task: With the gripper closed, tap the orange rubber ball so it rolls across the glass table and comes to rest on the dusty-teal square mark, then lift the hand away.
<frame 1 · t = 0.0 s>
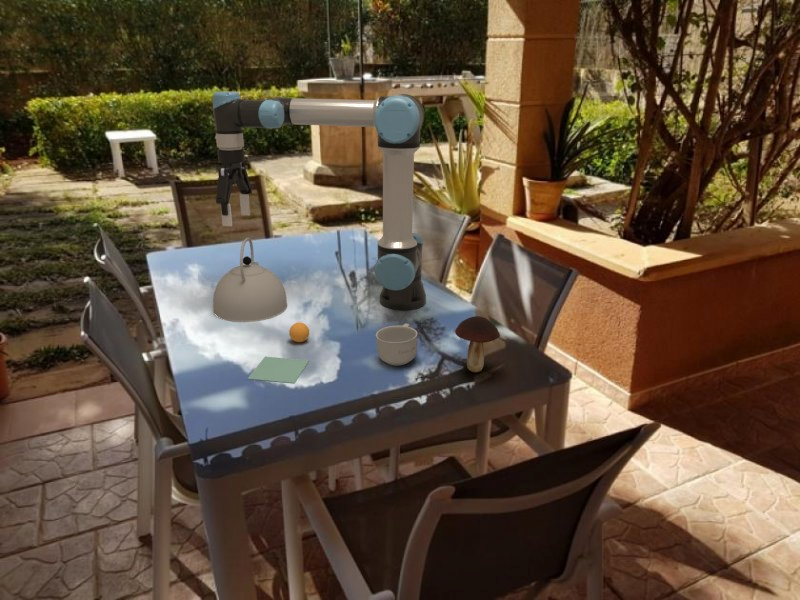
hand: (236, 220, 178), 28 cm above the table, tool pointing down, fingers open, 13 cm apart
teacup: (399, 358, 157), on the table
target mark: (279, 369, 150), on the table
ball: (299, 332, 164), on the table
kettle: (251, 307, 189), on the table
decorative mushroom: (474, 372, 151), on the table
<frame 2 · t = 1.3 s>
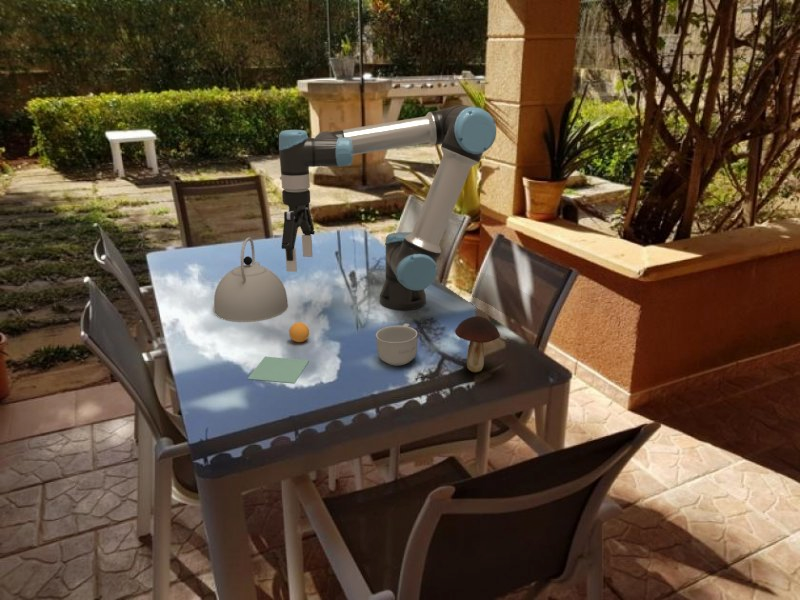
hand: (300, 263, 169), 19 cm above the table, tool pointing down, fingers open, 13 cm apart
nothing on the table moved.
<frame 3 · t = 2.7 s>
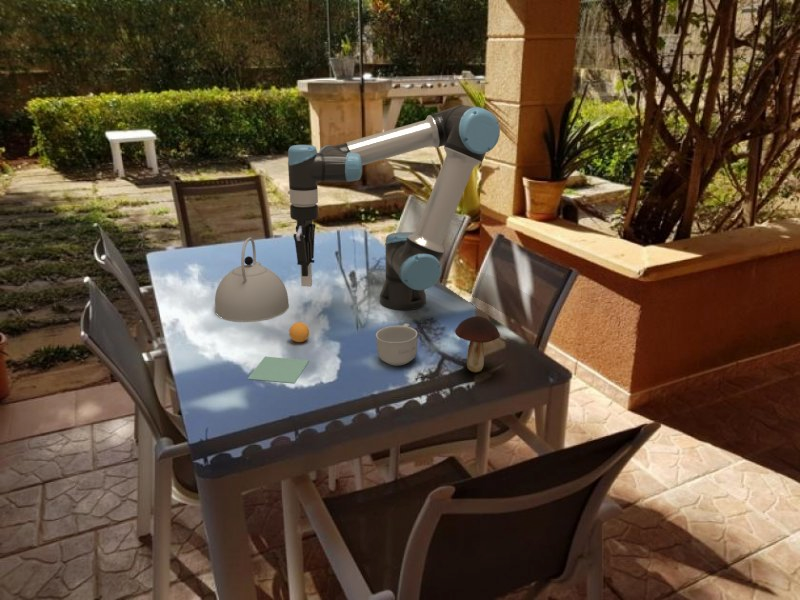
hand: (306, 285, 169), 13 cm above the table, tool pointing down, fingers closed
nothing on the table moved.
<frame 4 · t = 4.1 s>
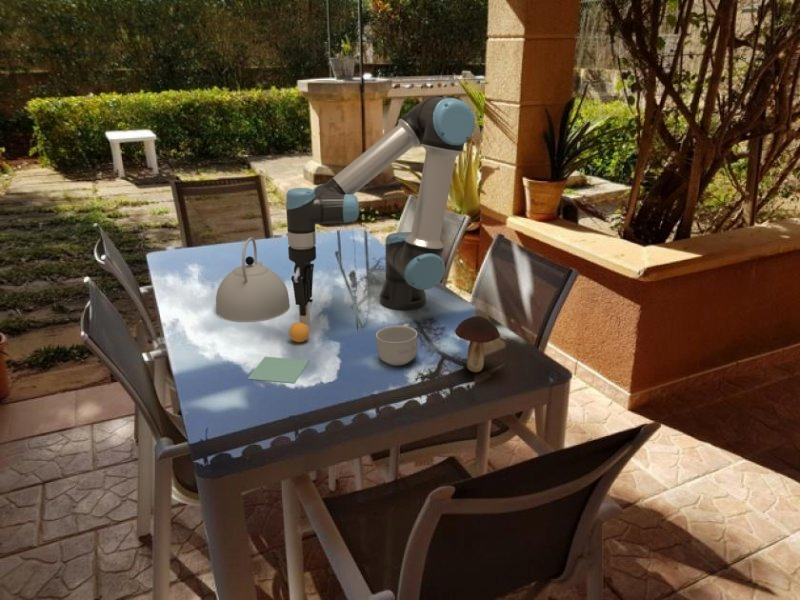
hand: (304, 324, 171), 2 cm above the table, tool pointing down, fingers closed
nothing on the table moved.
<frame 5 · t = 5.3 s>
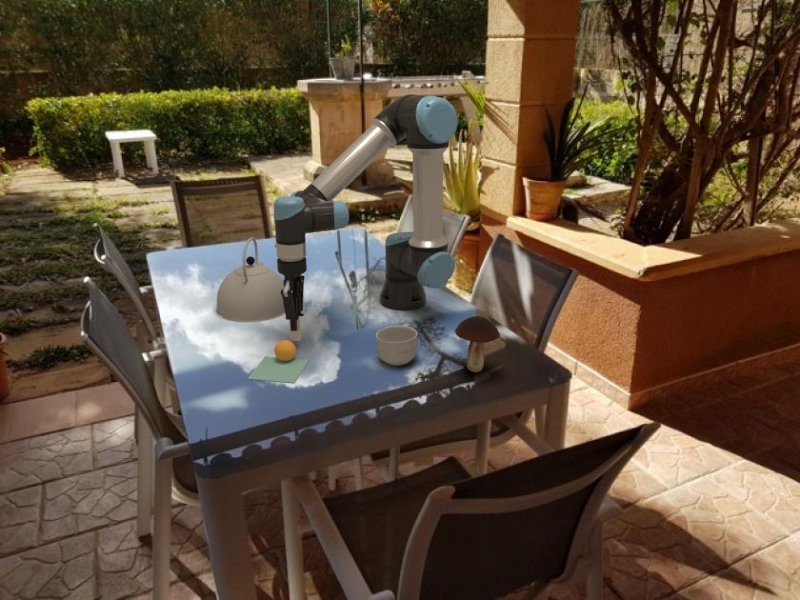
hand: (296, 339, 162), 2 cm above the table, tool pointing down, fingers closed
ball: (285, 350, 154), on the table
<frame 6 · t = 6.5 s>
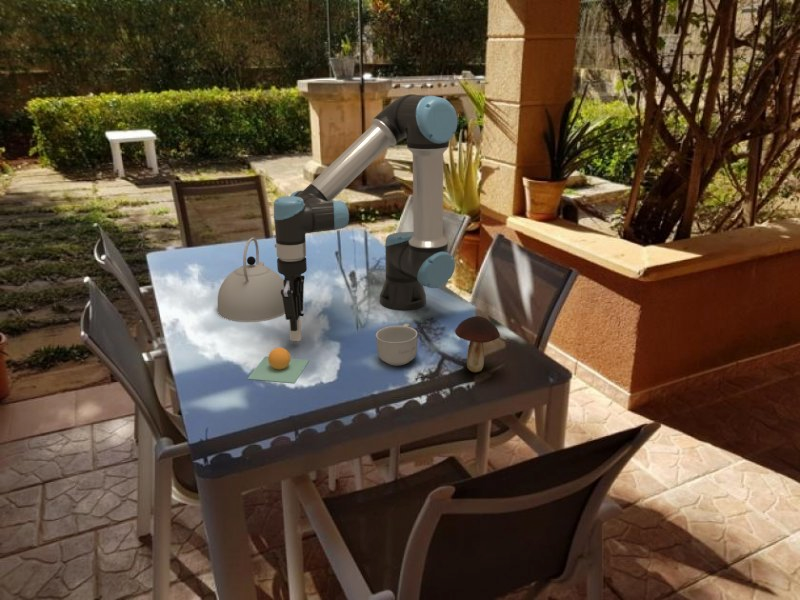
hand: (296, 339, 162), 2 cm above the table, tool pointing down, fingers closed
ball: (279, 358, 150), on the table
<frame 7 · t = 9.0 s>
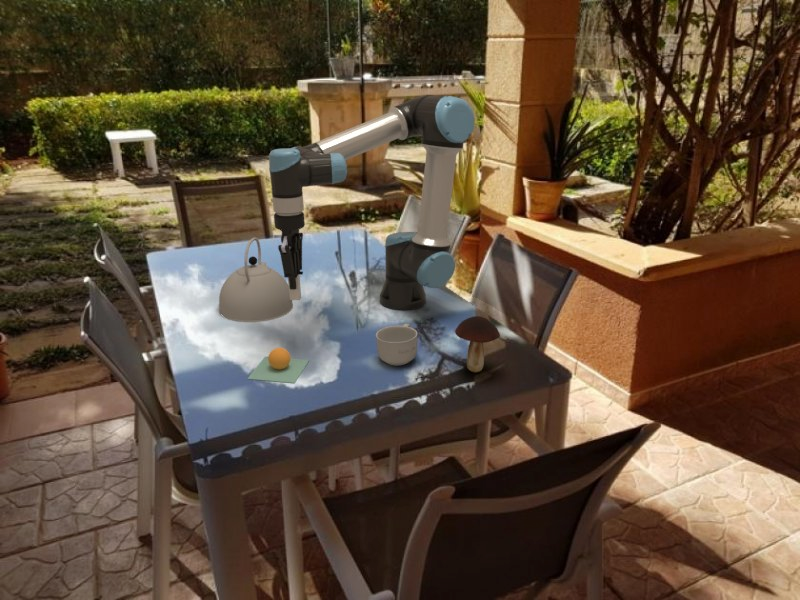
hand: (295, 298, 158), 14 cm above the table, tool pointing down, fingers closed
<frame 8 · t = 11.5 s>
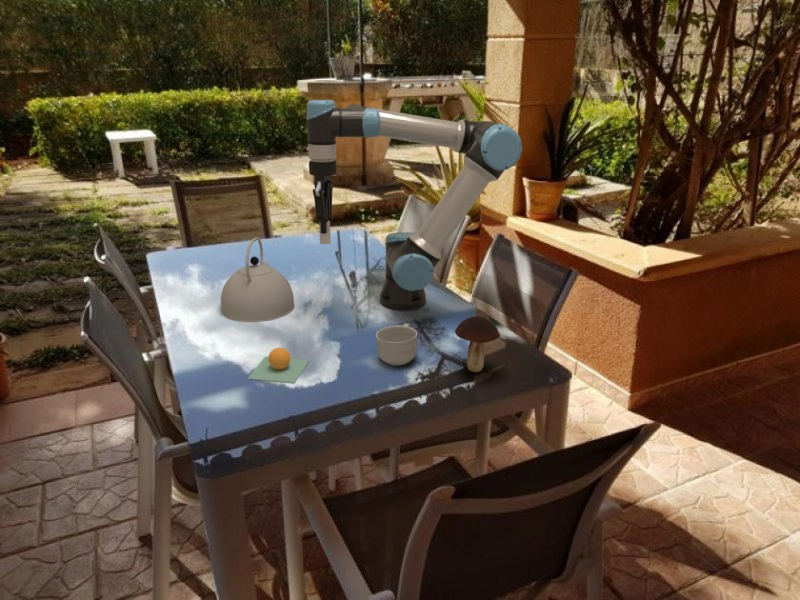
hand: (325, 243, 170), 24 cm above the table, tool pointing down, fingers closed
at the end: ball 0.9 cm from the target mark (horizontally); ball at rest at the end (0.0 cm/s); ball moved 16.1 cm from its start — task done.
